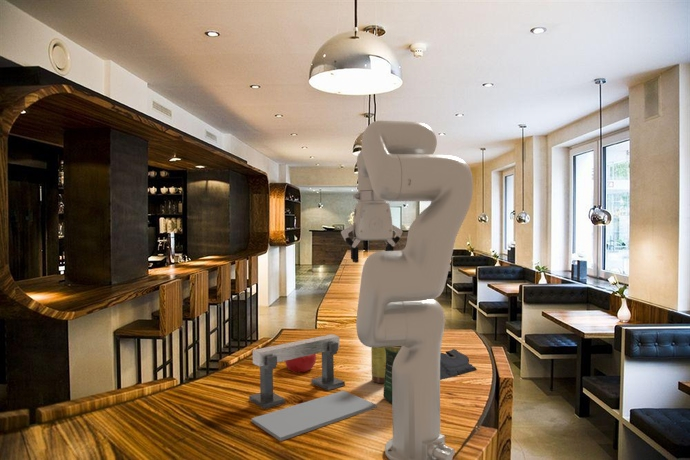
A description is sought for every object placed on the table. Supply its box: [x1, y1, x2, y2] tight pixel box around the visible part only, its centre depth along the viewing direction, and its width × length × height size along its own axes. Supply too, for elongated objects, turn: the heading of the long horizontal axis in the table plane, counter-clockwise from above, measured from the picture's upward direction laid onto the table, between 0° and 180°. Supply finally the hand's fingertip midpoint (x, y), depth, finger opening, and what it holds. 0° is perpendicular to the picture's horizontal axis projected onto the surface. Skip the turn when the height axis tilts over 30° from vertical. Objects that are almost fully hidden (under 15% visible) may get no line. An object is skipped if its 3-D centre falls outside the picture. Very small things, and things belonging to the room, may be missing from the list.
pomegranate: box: [284, 354, 317, 373], centre depth 150 cm, size 10×10×9 cm
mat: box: [250, 390, 377, 442], centre depth 115 cm, size 13×28×1 cm, turn 129°
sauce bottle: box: [370, 347, 386, 385], centre depth 138 cm, size 6×6×20 cm
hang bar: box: [252, 333, 340, 368], centre depth 129 cm, size 4×26×4 cm, turn 129°
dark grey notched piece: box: [440, 348, 478, 381], centre depth 148 cm, size 15×22×5 cm
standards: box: [248, 342, 346, 410], centre depth 129 cm, size 8×26×12 cm, turn 129°
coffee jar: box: [383, 346, 402, 404], centre depth 124 cm, size 10×8×19 cm
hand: (372, 261), depth 127 cm, fingers open, 9 cm apart
